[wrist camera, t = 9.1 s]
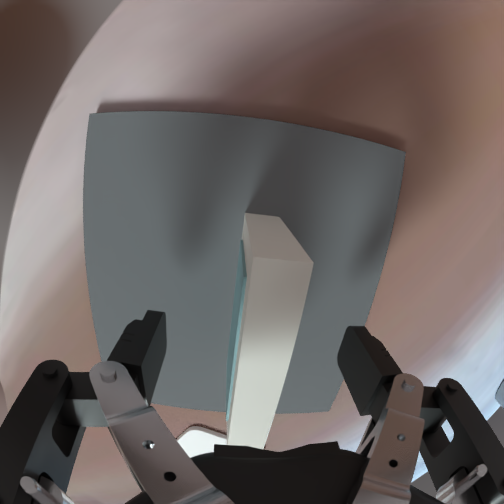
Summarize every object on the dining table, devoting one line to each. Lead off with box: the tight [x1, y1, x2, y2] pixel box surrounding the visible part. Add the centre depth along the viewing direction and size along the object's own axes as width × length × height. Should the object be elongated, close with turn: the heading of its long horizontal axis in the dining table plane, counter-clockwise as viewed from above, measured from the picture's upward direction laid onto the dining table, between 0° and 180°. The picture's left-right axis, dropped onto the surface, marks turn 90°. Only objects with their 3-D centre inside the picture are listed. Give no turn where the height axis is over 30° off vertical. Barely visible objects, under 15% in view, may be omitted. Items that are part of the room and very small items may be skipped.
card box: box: [226, 213, 314, 449], centre depth 11 cm, size 2×9×6 cm, turn 173°
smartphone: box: [176, 426, 227, 458], centre depth 21 cm, size 7×1×15 cm
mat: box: [83, 111, 406, 414], centre depth 14 cm, size 16×18×1 cm
